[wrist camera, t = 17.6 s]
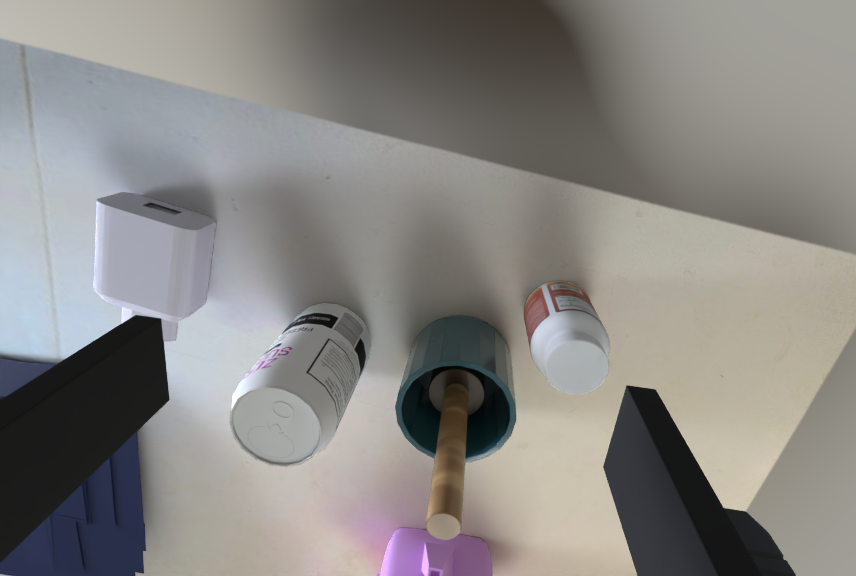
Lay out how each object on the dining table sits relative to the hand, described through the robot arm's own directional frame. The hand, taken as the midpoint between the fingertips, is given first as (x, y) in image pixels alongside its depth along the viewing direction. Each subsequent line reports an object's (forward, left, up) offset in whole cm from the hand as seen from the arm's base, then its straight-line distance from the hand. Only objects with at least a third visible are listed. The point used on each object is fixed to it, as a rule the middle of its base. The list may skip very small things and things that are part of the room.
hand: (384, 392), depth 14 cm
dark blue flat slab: (+57, +12, -33) cm, 67 cm away
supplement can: (+17, +9, -33) cm, 38 cm away
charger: (+30, -3, -33) cm, 44 cm away
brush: (+6, +16, -32) cm, 36 cm away
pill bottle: (-5, +14, -33) cm, 36 cm away
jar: (+6, +16, -33) cm, 37 cm away
